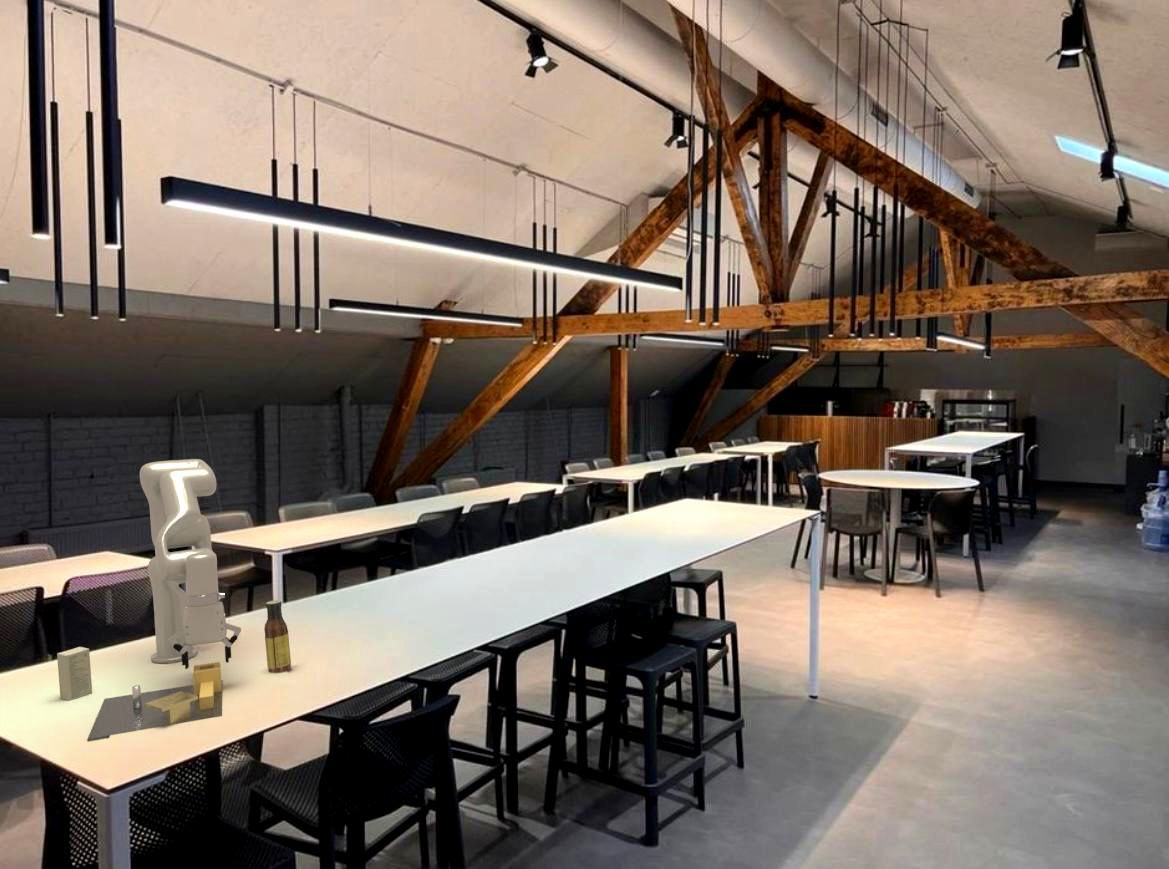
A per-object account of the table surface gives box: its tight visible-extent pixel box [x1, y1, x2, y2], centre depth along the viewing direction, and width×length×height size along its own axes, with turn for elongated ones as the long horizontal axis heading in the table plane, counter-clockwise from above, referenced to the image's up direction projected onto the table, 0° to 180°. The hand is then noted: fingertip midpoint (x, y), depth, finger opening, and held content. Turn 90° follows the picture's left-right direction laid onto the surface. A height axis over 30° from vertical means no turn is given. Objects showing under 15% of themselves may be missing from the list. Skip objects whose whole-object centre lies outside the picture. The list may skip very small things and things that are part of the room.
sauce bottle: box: [264, 599, 292, 674], centre depth 228 cm, size 6×6×20 cm
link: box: [192, 661, 222, 710], centre depth 209 cm, size 18×6×6 cm, turn 24°
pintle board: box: [86, 679, 224, 742], centre depth 202 cm, size 29×28×6 cm
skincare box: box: [56, 646, 93, 701], centre depth 214 cm, size 6×4×12 cm
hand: (207, 664), depth 213 cm, fingers open, 9 cm apart
